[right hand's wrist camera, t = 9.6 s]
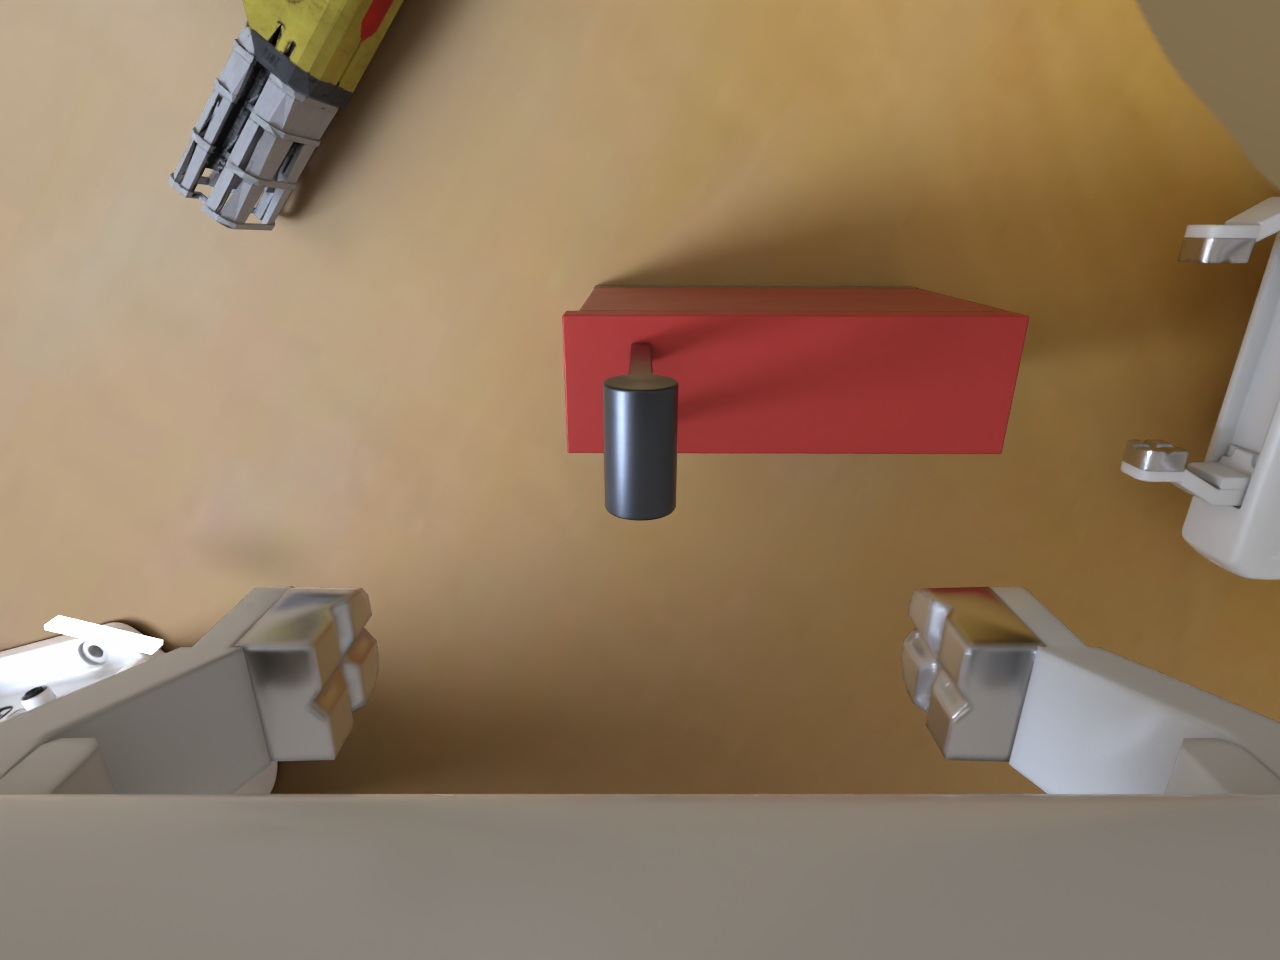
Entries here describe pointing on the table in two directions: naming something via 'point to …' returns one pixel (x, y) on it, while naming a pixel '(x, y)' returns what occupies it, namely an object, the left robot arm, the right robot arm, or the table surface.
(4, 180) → the table surface
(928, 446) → the lid
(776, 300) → the chest
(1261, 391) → the left robot arm
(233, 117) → the toy gun
